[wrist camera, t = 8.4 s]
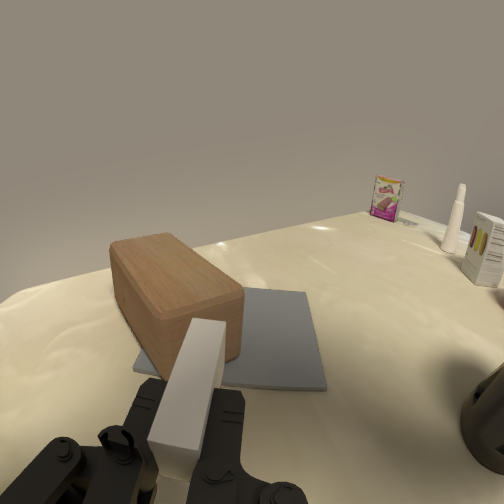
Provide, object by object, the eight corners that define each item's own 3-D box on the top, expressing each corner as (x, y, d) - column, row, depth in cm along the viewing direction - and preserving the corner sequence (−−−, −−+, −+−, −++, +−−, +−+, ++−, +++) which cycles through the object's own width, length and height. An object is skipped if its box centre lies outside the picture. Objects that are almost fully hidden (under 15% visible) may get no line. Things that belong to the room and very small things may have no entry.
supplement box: (459, 269, 67) (475, 210, 61) (482, 273, 66) (498, 216, 60) (474, 285, 58) (494, 220, 52) (498, 288, 57) (517, 227, 51)
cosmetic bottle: (445, 253, 79) (461, 184, 71) (436, 246, 85) (451, 180, 76) (459, 254, 79) (474, 188, 71) (450, 247, 85) (464, 184, 76)
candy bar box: (369, 215, 113) (375, 174, 107) (373, 213, 117) (380, 175, 111) (394, 222, 106) (401, 181, 100) (397, 221, 110) (405, 181, 103)
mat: (305, 295, 51) (305, 292, 51) (325, 390, 31) (326, 387, 30) (177, 283, 51) (177, 280, 51) (133, 371, 31) (132, 367, 30)
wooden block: (167, 389, 28) (114, 301, 43) (243, 358, 34) (171, 287, 49) (157, 312, 25) (107, 240, 39) (249, 286, 31) (169, 229, 45)
